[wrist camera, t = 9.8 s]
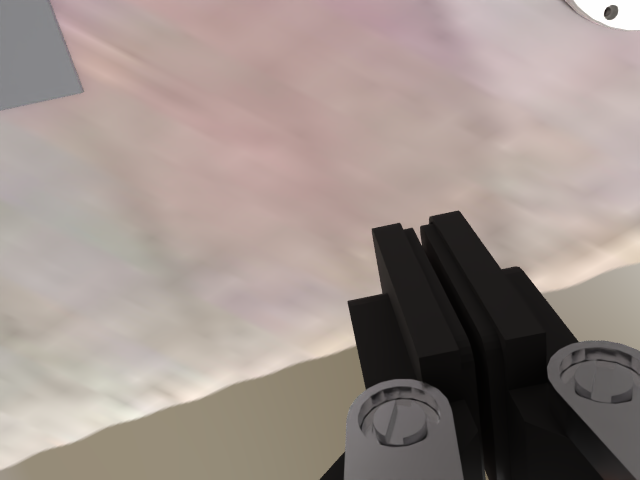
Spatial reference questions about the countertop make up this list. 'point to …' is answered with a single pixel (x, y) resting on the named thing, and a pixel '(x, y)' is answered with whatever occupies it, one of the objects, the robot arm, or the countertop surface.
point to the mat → (33, 55)
